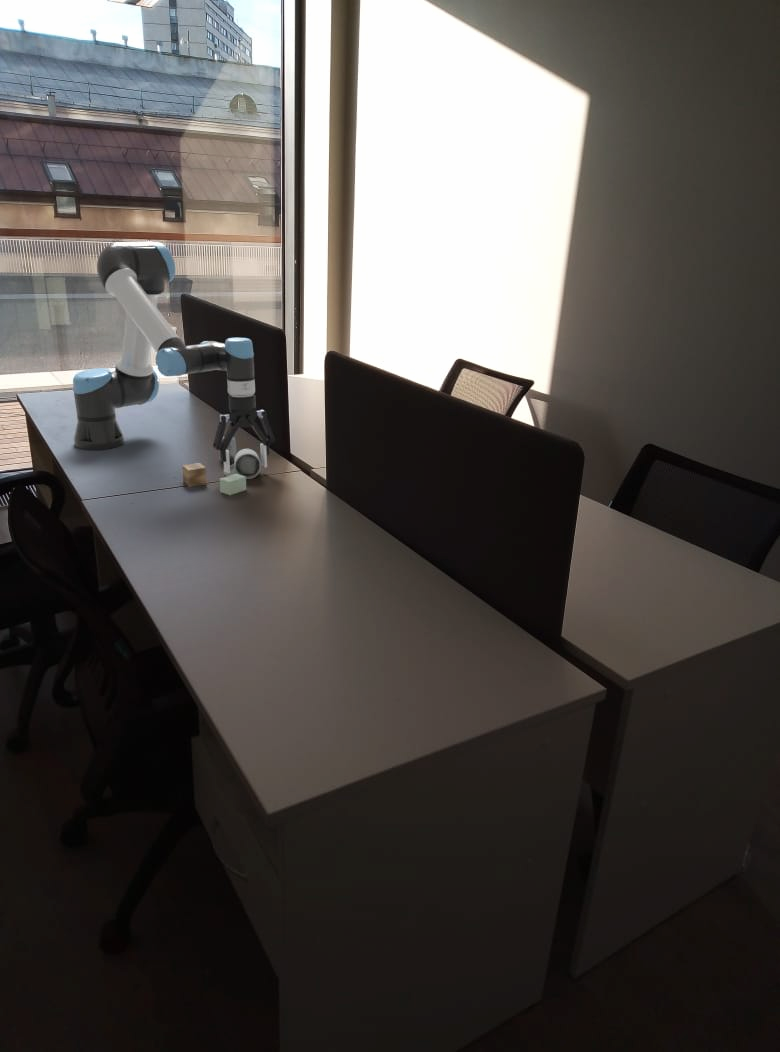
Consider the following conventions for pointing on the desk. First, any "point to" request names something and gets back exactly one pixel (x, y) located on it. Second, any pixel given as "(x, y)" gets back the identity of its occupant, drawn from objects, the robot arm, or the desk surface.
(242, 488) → the sage green block
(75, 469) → the desk surface
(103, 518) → the desk surface
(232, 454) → the dark metal cylinder
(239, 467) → the ceramic mug
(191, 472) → the walnut block
